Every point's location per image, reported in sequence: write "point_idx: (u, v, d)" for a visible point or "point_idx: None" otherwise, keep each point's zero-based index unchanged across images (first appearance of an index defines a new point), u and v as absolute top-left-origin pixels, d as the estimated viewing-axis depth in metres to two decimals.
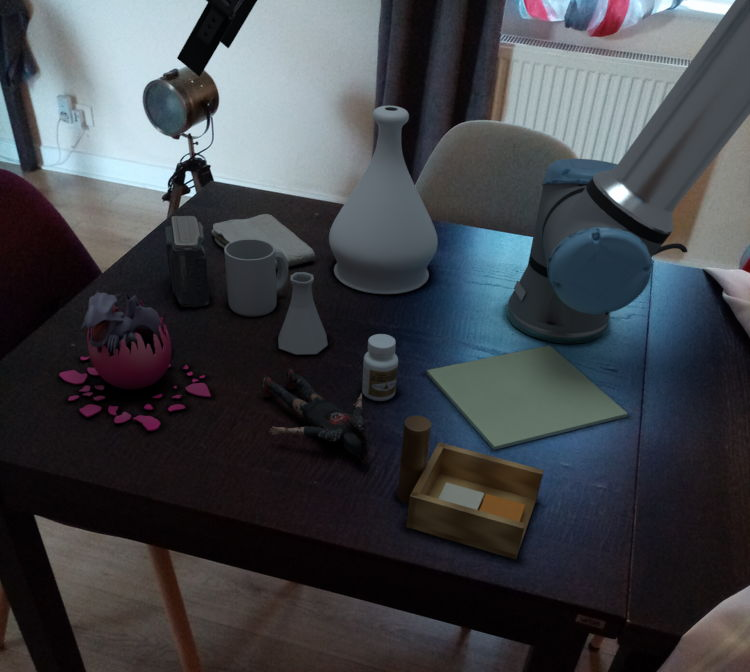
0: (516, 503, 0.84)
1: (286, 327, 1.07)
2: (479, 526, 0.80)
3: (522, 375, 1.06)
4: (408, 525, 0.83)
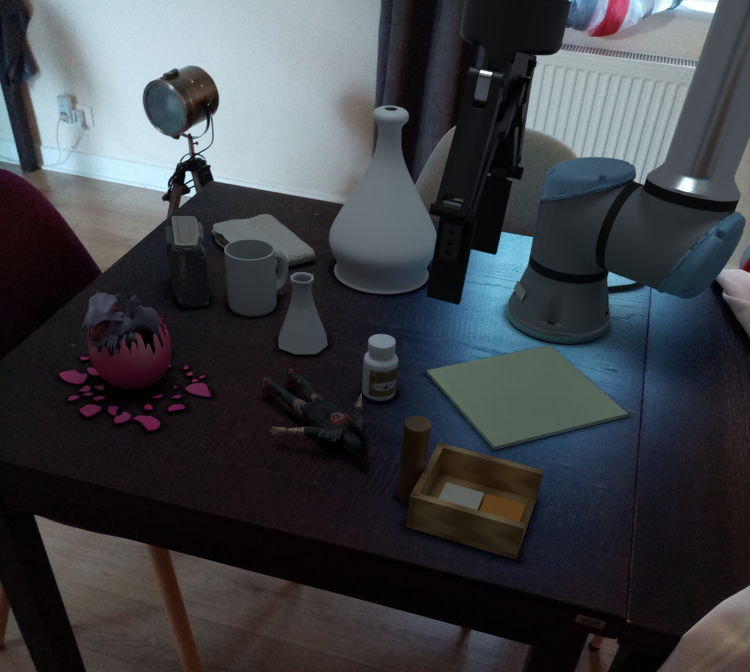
0: (516, 503, 0.84)
1: (286, 327, 1.07)
2: (479, 526, 0.80)
3: (522, 375, 1.06)
4: (408, 525, 0.83)
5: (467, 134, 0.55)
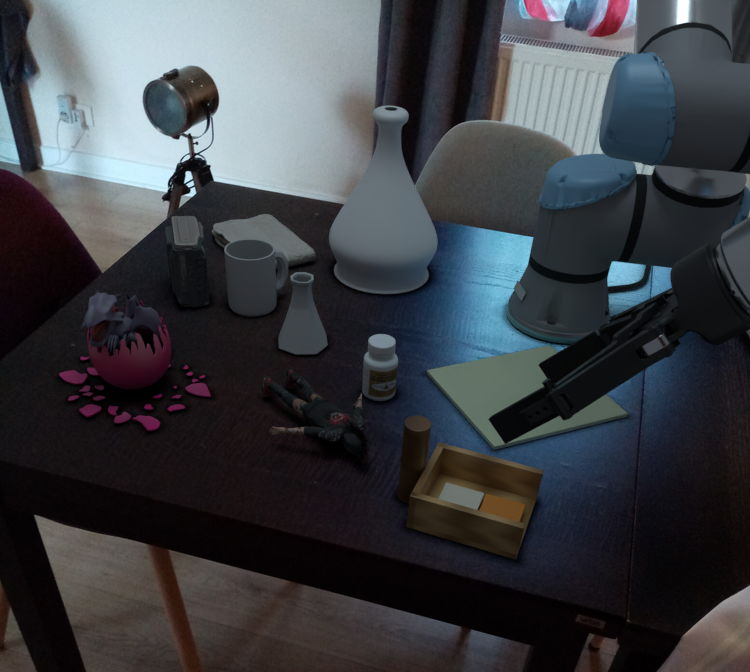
0: (516, 503, 0.84)
1: (286, 327, 1.07)
2: (479, 526, 0.80)
3: (522, 375, 1.06)
4: (408, 525, 0.83)
5: None
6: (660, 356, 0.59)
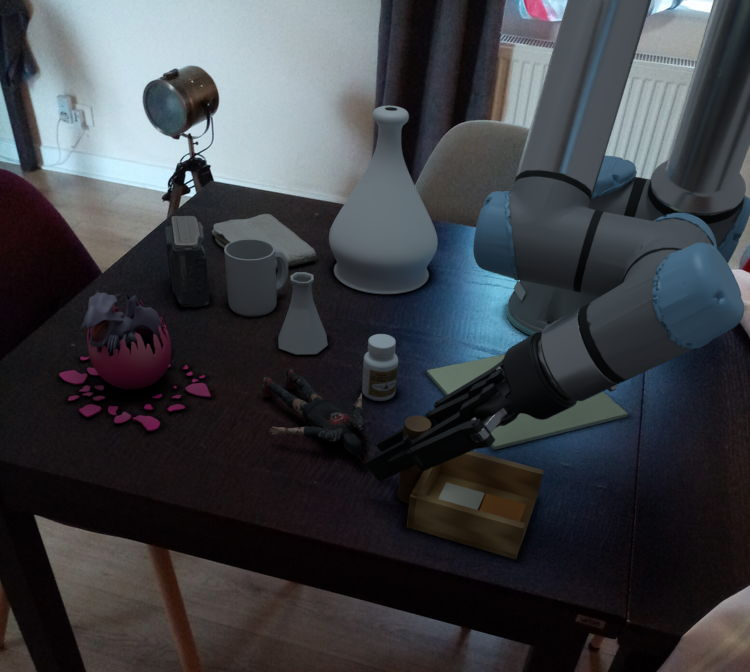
0: (516, 503, 0.84)
1: (286, 327, 1.07)
2: (479, 526, 0.80)
3: None
4: (408, 525, 0.83)
5: None
6: (481, 445, 0.72)
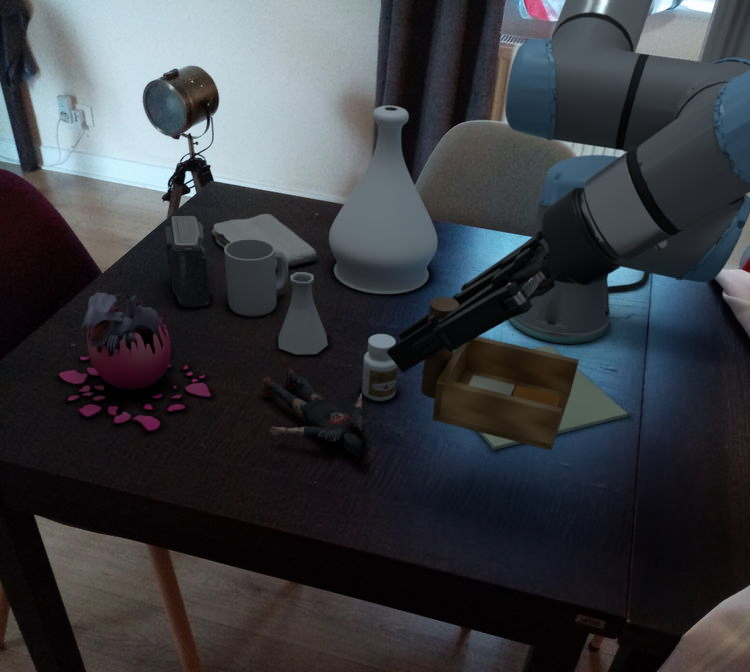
0: (549, 394, 0.78)
1: (286, 327, 1.07)
2: (512, 413, 0.74)
3: None
4: (434, 417, 0.77)
5: None
6: (517, 312, 0.66)
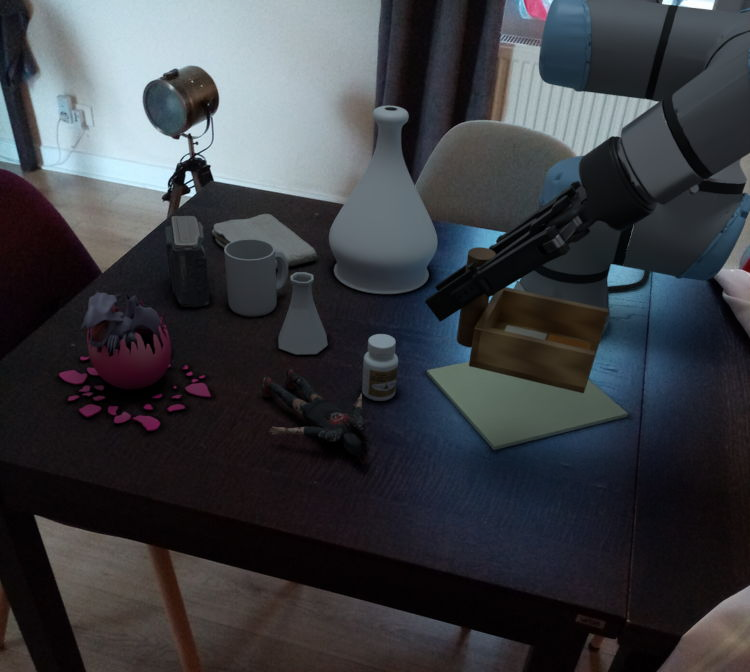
0: (581, 342, 0.82)
1: (286, 327, 1.07)
2: (546, 357, 0.77)
3: None
4: (470, 363, 0.81)
5: None
6: (555, 255, 0.69)
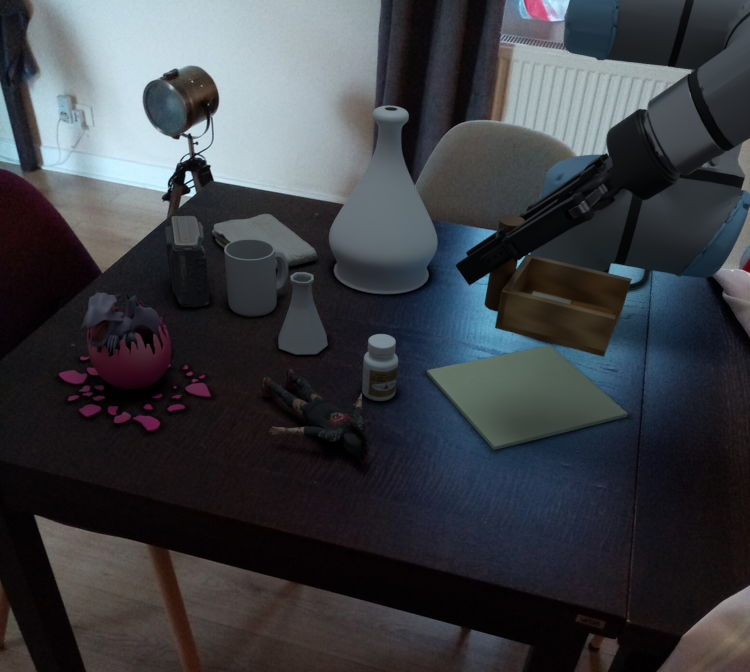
0: (603, 309, 0.86)
1: (286, 327, 1.07)
2: (569, 320, 0.81)
3: (522, 375, 1.06)
4: (497, 325, 0.85)
5: None
6: (580, 220, 0.73)
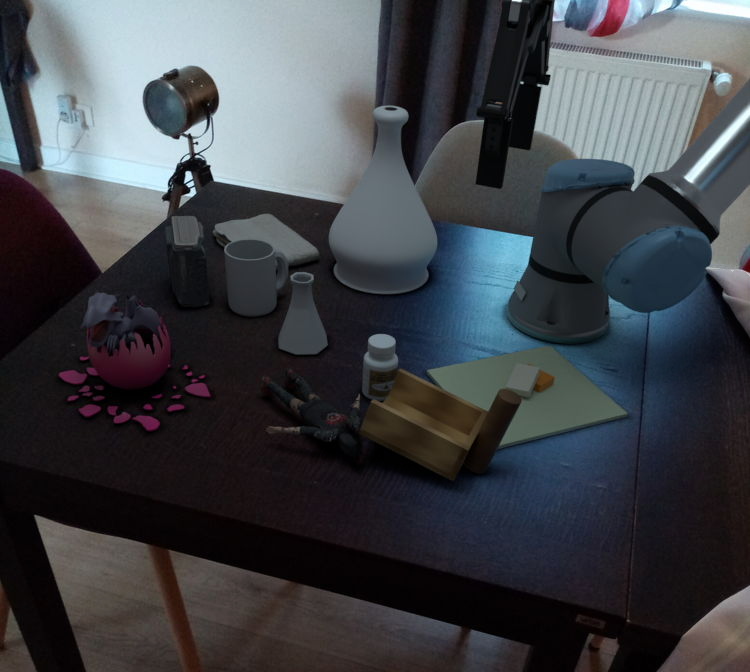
0: None
1: (286, 327, 1.07)
2: None
3: None
4: None
5: (503, 50, 0.71)
6: None
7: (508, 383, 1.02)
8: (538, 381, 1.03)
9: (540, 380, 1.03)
